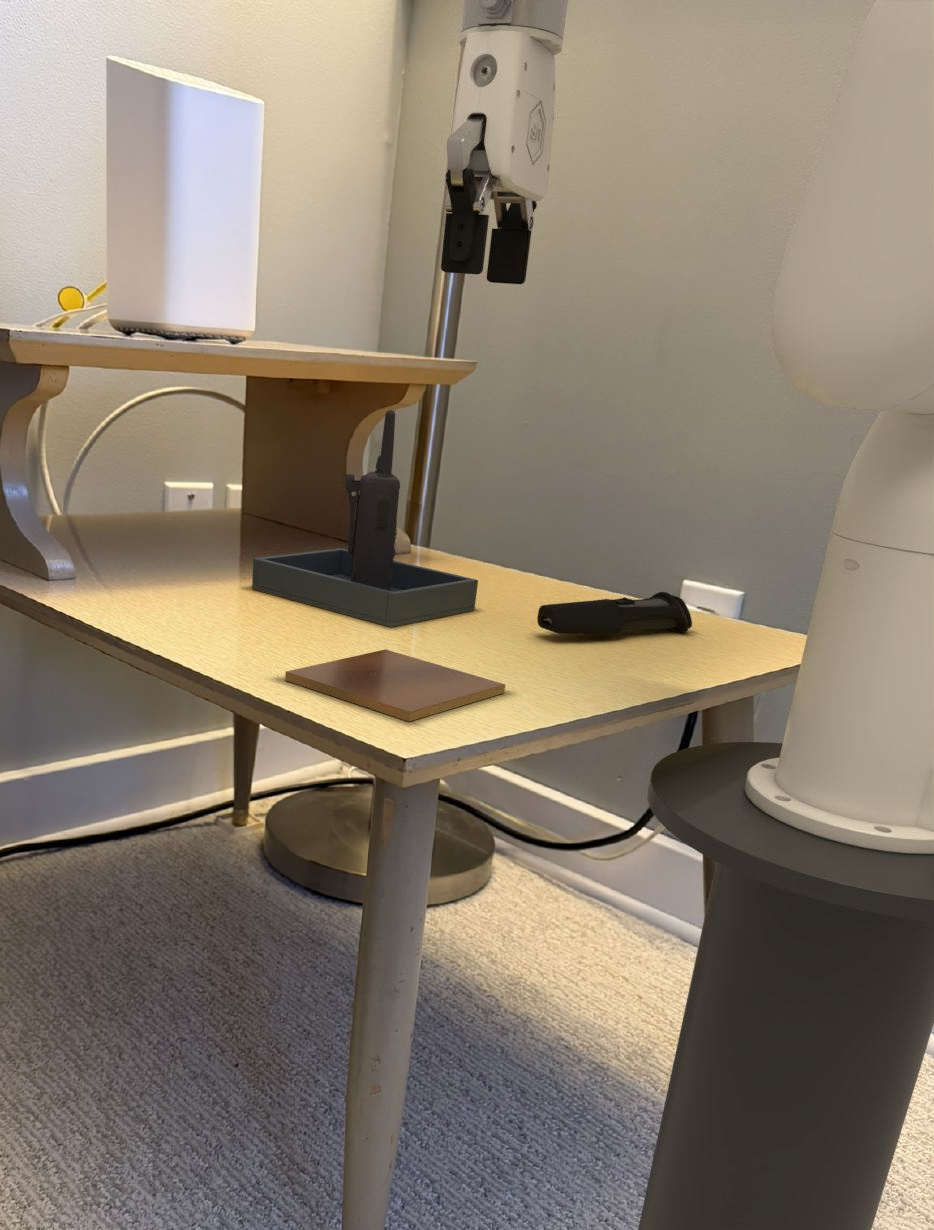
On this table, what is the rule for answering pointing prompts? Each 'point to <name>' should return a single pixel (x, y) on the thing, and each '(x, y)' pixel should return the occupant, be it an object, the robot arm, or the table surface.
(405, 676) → the cork pad
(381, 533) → the two-way radio
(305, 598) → the tray
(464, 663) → the table surface
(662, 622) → the electric trimmer
